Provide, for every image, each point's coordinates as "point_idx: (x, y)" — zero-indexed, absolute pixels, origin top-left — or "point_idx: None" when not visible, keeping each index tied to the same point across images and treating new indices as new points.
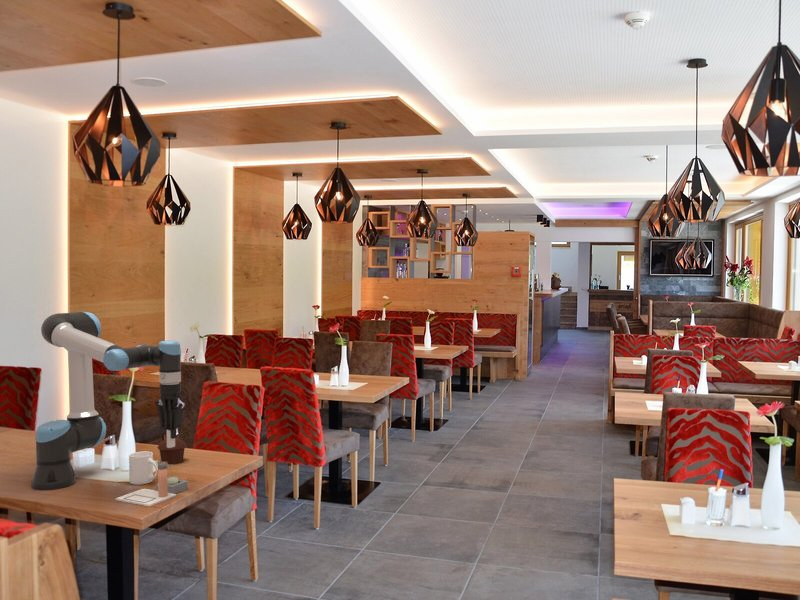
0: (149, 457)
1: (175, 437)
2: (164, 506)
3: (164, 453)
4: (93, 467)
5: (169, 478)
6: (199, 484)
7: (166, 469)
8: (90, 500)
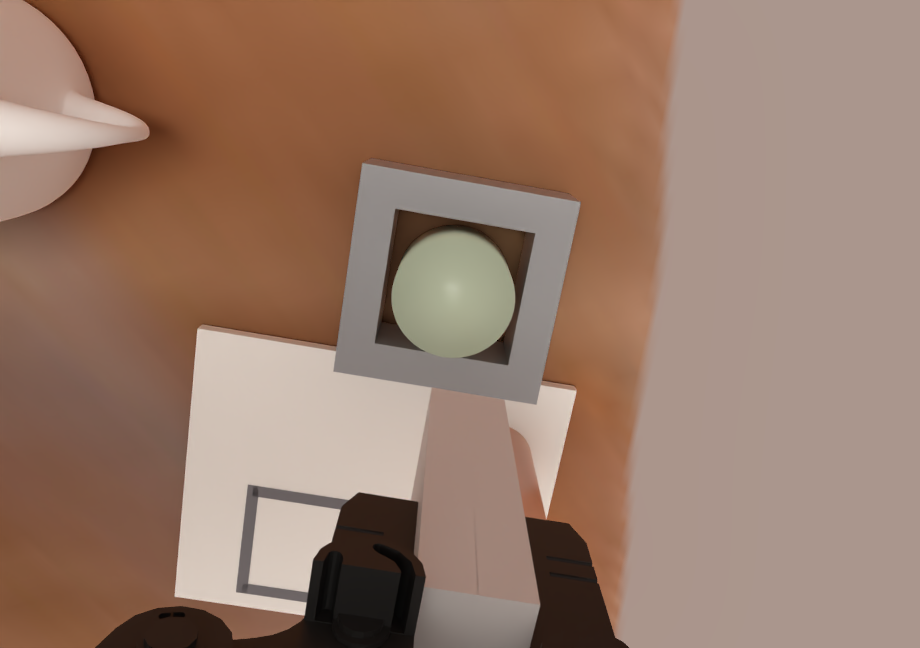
0: None
1: (571, 544)
2: (619, 607)
3: None
4: None
5: (429, 304)
6: (600, 23)
7: None
8: (10, 636)
